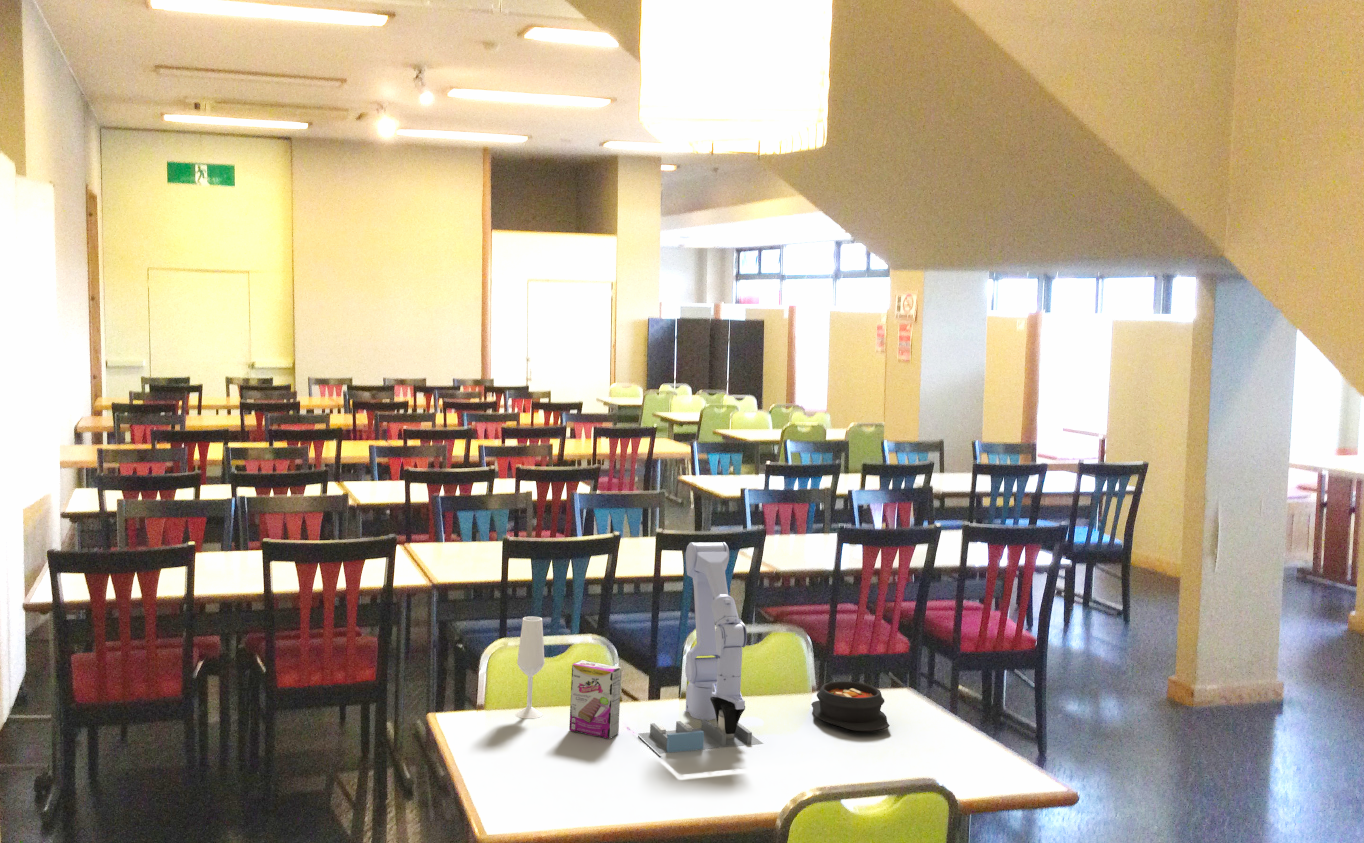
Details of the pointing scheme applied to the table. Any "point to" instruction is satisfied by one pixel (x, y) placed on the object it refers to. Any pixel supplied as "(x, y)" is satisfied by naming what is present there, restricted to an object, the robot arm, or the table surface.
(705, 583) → the robot arm
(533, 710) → the champagne flute
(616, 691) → the candy bar box
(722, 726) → the cream rounded cylinder
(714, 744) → the grey slotted rack
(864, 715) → the casserole
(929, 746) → the table surface
